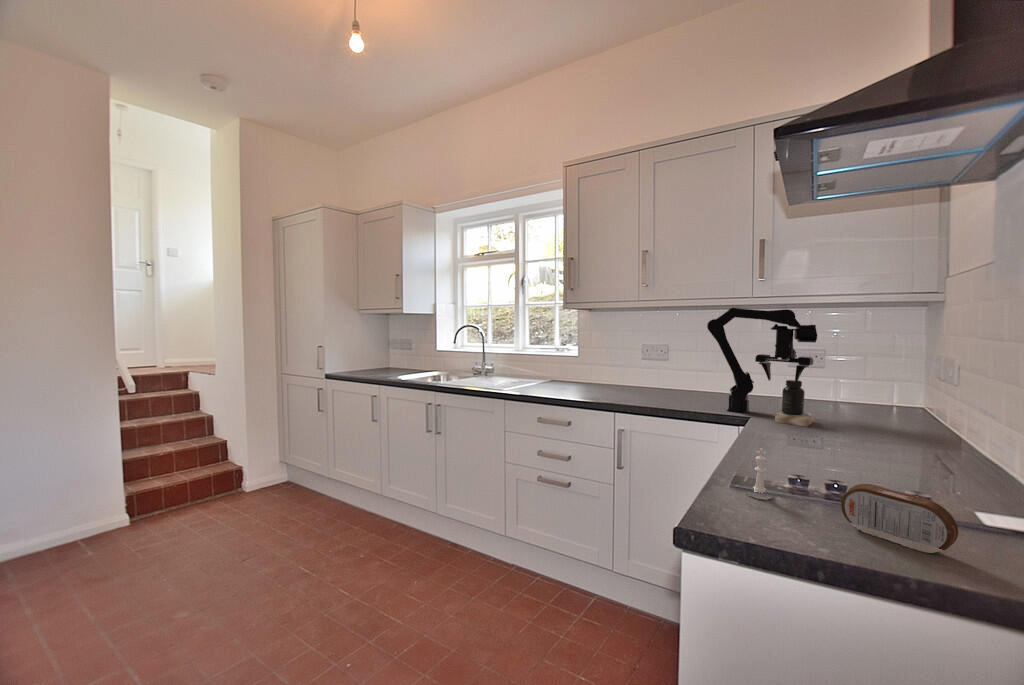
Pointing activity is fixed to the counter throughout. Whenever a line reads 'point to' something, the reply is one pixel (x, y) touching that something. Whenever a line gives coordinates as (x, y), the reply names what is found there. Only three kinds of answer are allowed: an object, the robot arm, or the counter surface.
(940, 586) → the counter surface
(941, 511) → the tin
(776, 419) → the birch plinth
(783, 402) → the supplement bottle
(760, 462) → the chess piece
